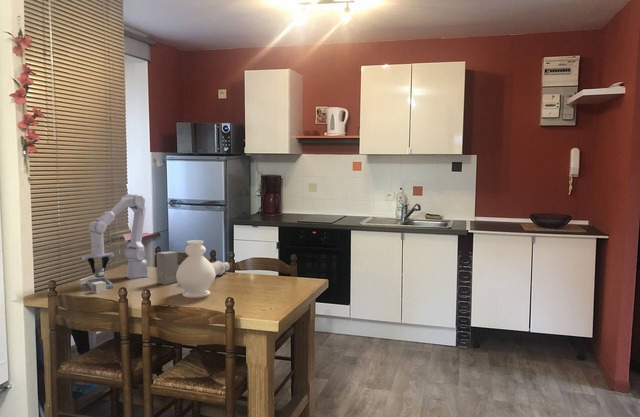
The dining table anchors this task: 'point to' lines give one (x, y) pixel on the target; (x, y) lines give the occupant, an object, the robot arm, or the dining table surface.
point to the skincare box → (166, 267)
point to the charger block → (99, 287)
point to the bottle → (220, 267)
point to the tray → (90, 281)
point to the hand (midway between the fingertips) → (98, 272)
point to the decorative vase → (195, 271)
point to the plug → (99, 272)
